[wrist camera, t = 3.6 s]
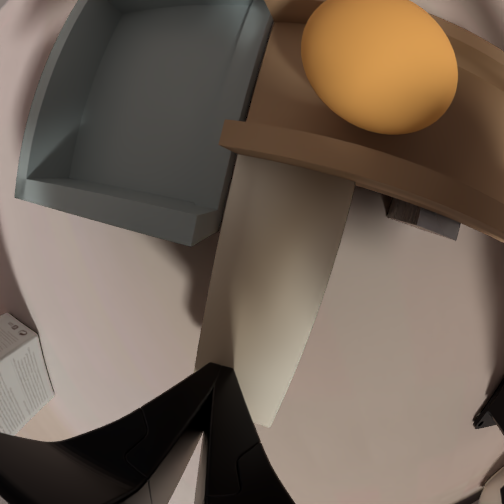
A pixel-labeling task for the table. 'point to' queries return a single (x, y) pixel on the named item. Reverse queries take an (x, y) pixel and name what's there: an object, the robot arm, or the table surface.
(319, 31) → the ball
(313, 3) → the lever
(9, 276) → the table surface
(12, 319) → the skincare box
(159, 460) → the robot arm
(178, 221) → the tray
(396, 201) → the fulcrum
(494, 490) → the lidded jar
